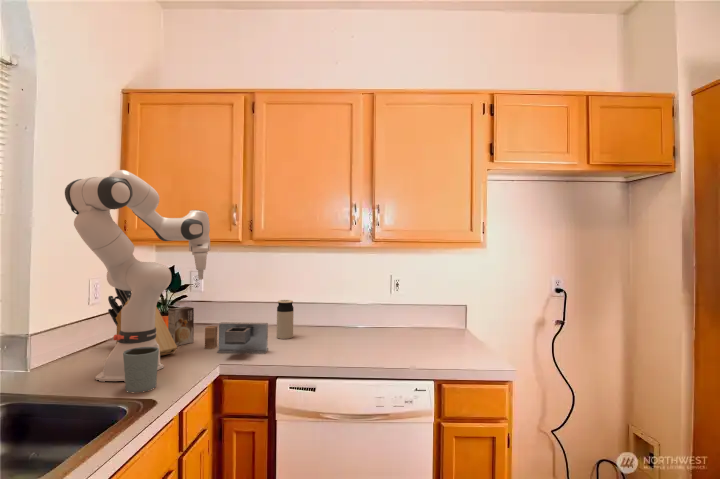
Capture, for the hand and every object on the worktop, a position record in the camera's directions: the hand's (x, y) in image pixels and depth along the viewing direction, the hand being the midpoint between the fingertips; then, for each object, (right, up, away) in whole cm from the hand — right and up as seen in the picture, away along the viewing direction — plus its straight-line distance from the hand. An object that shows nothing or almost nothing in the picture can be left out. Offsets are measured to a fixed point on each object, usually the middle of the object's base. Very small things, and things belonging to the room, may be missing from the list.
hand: (200, 277), depth 179 cm
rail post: (+5, -31, -1) cm, 31 cm away
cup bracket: (+21, -31, -11) cm, 39 cm away
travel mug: (+34, -31, +19) cm, 50 cm away
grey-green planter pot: (+1, -30, -51) cm, 59 cm away
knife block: (-22, -30, -9) cm, 39 cm away
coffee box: (-11, -31, +5) cm, 33 cm away
